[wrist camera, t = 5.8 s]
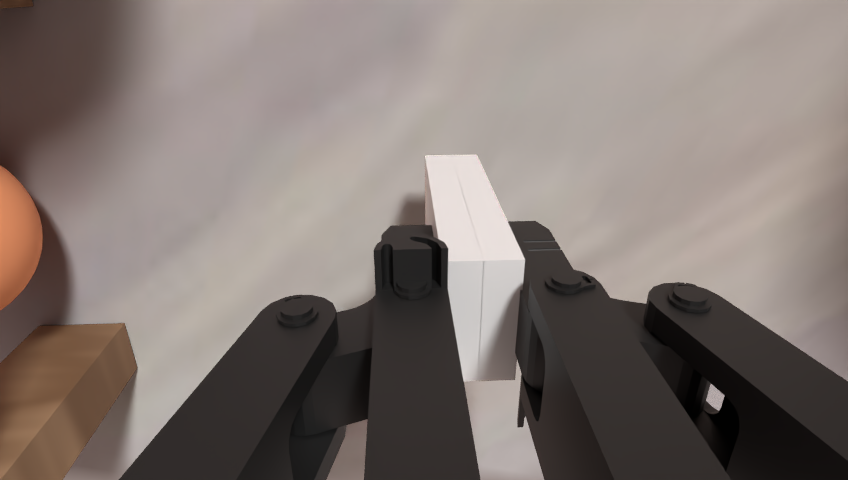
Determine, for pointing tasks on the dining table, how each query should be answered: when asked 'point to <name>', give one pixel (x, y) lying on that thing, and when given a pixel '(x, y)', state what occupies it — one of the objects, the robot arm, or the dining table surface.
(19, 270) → the ball
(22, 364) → the bridge
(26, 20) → the dining table surface
